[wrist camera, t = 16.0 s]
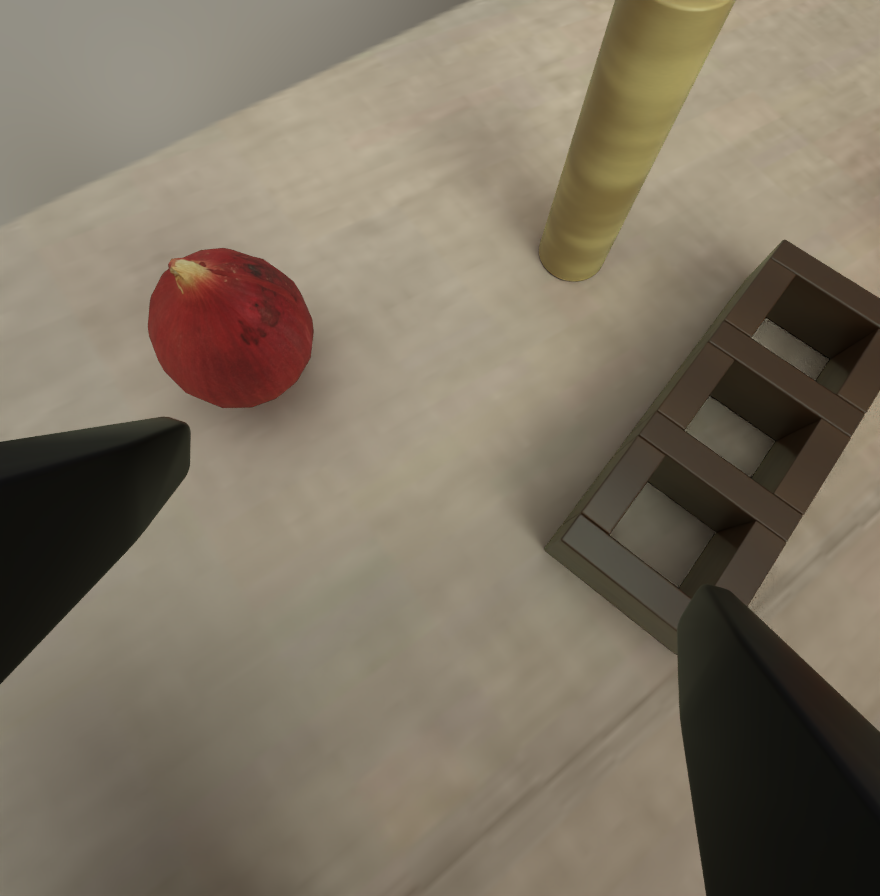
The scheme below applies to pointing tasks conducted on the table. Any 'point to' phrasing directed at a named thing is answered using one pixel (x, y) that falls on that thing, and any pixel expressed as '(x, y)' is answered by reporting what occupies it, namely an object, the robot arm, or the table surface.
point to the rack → (713, 478)
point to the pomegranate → (229, 328)
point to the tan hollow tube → (625, 124)
